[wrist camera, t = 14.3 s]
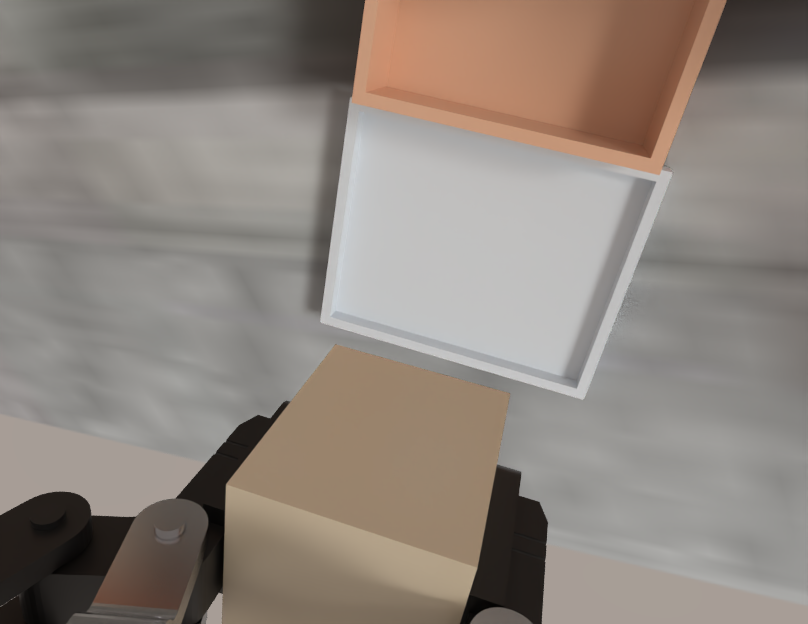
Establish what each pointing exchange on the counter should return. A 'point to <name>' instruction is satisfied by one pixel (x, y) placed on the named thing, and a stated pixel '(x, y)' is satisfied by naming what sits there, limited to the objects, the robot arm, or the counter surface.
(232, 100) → the counter surface
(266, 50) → the counter surface
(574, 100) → the dish
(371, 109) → the tray
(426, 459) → the beige wooden cube
